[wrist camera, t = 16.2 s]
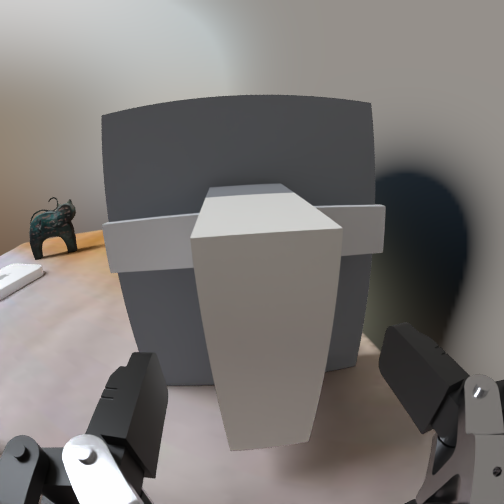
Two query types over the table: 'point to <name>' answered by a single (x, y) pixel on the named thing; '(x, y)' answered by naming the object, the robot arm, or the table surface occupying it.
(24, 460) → the robot arm
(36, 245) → the ceramic cat
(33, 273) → the mac mini
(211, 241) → the white block
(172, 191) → the wall board
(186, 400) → the table surface
